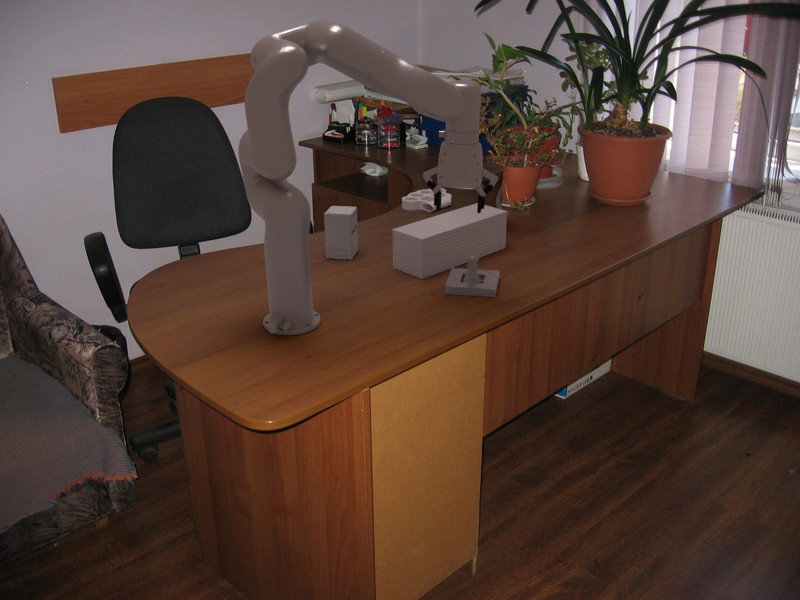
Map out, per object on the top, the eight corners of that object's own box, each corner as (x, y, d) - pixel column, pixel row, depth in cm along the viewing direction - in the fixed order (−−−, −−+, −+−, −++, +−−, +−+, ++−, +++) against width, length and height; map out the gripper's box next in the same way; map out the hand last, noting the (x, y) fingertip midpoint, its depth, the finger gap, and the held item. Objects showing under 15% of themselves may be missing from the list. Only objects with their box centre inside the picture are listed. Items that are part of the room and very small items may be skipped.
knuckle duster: (426, 216, 252) (392, 207, 262) (463, 203, 264) (429, 194, 273) (426, 205, 251) (391, 196, 260) (463, 193, 263) (429, 185, 272)
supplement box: (352, 260, 217) (350, 214, 212) (325, 258, 219) (322, 213, 214) (359, 250, 224) (357, 206, 219) (332, 249, 225) (330, 204, 220)
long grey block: (421, 279, 205) (421, 239, 201) (393, 268, 212) (392, 229, 208) (505, 248, 225) (507, 211, 221) (476, 239, 232) (477, 202, 228)
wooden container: (510, 232, 237) (513, 157, 228) (463, 239, 232) (465, 162, 223) (486, 217, 249) (489, 145, 241) (442, 223, 245) (442, 150, 236)
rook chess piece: (469, 281, 203) (470, 250, 200) (484, 285, 201) (485, 254, 197) (459, 286, 200) (459, 256, 197) (474, 291, 198) (474, 260, 194)
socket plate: (495, 297, 194) (495, 289, 193) (444, 294, 196) (445, 286, 195) (499, 278, 205) (499, 270, 204) (451, 275, 207) (451, 267, 206)
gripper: (421, 138, 183) (419, 212, 190) (498, 142, 180) (494, 217, 187) (426, 131, 190) (425, 203, 197) (501, 135, 187) (497, 208, 194)
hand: (458, 210), depth 192 cm, fingers open, 9 cm apart
